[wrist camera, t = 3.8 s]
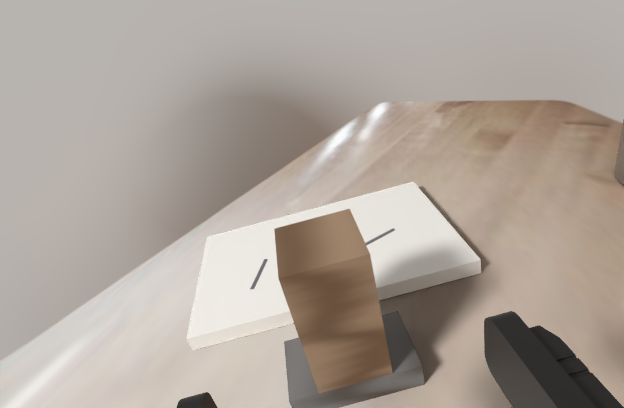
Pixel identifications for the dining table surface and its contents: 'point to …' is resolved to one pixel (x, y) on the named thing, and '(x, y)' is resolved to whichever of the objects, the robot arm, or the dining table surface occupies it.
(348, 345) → the block
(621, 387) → the dining table surface
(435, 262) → the board
